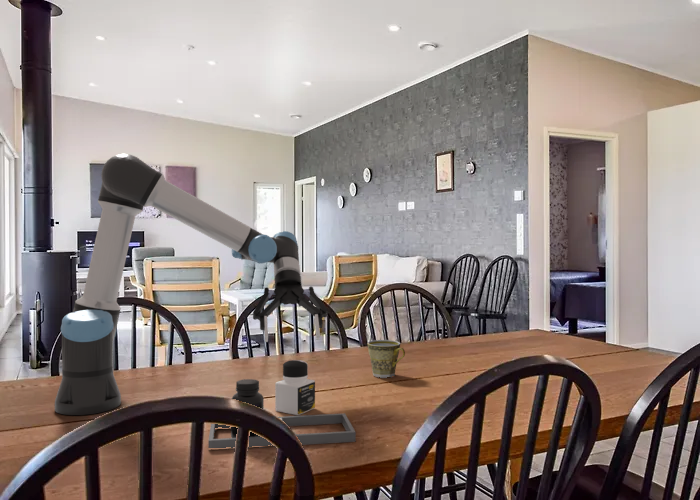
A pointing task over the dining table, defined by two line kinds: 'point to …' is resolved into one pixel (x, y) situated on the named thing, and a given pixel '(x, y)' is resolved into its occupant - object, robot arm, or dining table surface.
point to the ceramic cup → (384, 357)
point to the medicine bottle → (295, 389)
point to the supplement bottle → (248, 397)
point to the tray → (304, 438)
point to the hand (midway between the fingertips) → (292, 338)
